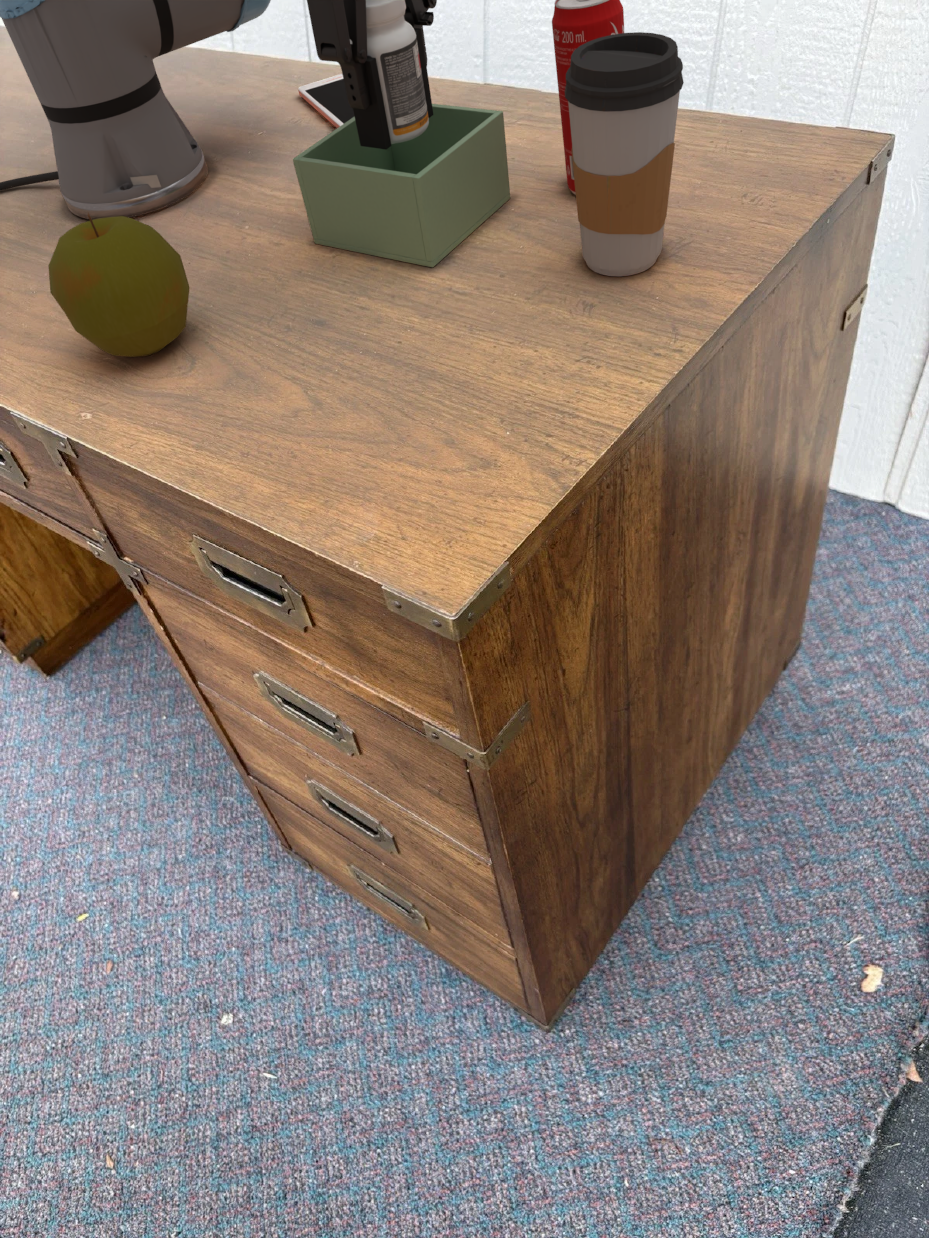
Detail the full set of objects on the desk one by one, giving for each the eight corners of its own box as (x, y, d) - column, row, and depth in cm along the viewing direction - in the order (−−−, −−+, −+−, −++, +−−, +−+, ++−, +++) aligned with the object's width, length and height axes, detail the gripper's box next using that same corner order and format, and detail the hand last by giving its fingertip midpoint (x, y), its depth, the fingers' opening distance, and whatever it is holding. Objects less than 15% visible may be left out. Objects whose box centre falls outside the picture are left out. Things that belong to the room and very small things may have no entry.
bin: (314, 243, 80) (292, 159, 75) (396, 180, 87) (381, 98, 81) (433, 268, 75) (418, 178, 69) (510, 198, 81) (503, 111, 76)
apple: (224, 312, 74) (176, 180, 66) (174, 380, 69) (114, 245, 60) (123, 309, 77) (64, 182, 69) (66, 375, 71) (-7, 245, 63)
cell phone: (351, 142, 94) (349, 133, 93) (298, 95, 105) (296, 87, 105) (425, 118, 96) (424, 109, 95) (365, 75, 107) (364, 66, 106)
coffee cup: (606, 224, 76) (606, 25, 64) (693, 245, 72) (708, 36, 60) (550, 270, 72) (539, 66, 61) (638, 294, 68) (643, 81, 57)
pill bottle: (429, 115, 77) (410, -20, 69) (430, 141, 73) (410, 1, 66) (365, 124, 77) (339, -9, 70) (363, 151, 73) (335, 13, 66)
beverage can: (627, 199, 78) (630, 3, 67) (555, 202, 80) (545, 10, 68) (632, 170, 82) (636, -22, 71) (563, 172, 83) (556, -15, 72)
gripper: (285, -219, 51) (368, 184, 69) (456, -278, 60) (491, 91, 78) (194, -211, 54) (296, 172, 72) (370, -268, 64) (422, 84, 81)
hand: (397, 129), depth 75 cm, fingers closed on pill bottle, 6 cm apart
